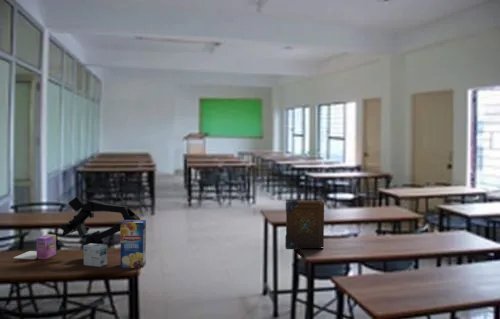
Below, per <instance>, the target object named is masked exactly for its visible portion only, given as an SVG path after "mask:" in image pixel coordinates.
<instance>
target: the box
mask: <svg viewBox="0 0 500 319" xmlns="http://www.w3.org/2000/svg"><path fill="white" fill-rule="evenodd" d="M36 251H37V258H38V259H37V258H36V259H37V260H39V259H40V260H46V259H48V258H52V257H54V256H55V255H57V235H56V234H52V233H51V234H50V233H47V234H44V235H42V236H38V237H37V238H36Z"/></svg>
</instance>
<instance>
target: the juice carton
mask: <svg viewBox="0 0 500 319" xmlns="http://www.w3.org/2000/svg"><path fill="white" fill-rule="evenodd" d="M119 224H120V231H119V233H120V239H119V240H120V241H119V243H120V268H122V269H125V268H126V269H129V268H130V269H133V268H134V269H142V268H144V267H145V266H147V265H146V264H147V232H146V231H147V226H146V225H147V220H146V219H140V220H124V219H123V220H122V221H121V222H120V223H119Z"/></svg>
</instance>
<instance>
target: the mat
mask: <svg viewBox="0 0 500 319" xmlns="http://www.w3.org/2000/svg"><path fill="white" fill-rule="evenodd" d="M12 259H17V260H36V259H37V250H29V251H26V252H24V253H21V254H19V255H16V256H14V257H13V258H12Z"/></svg>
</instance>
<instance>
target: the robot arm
mask: <svg viewBox="0 0 500 319" xmlns="http://www.w3.org/2000/svg"><path fill="white" fill-rule="evenodd" d="M68 205H69V207H70V208H71V209H72V210H73V211H74V212H78V213H77V214H75V215H74V216H73V217H72V219H70V220H69V221H68V222H64V223H61V224H60V226H59V228H60V229H61V230H62V234H61V236H62V237H63V238H64V237H66V236H67V235H69V234H72V233H74V232H77V234H78V237H82V236H84V235H87V234H88V233H89V231H90V229H91V228H90V227H89V226H86V225H85V224H86V220H88V218H90V219H92V218H94V217H95V213H94V212H100V211H101V212H102V211H103V212H109V213H110V212H111V213H118V214H121V215H122V218H123V220H141V218H140V216H138V215H136V213H135V212H133V210H131V208H129V207H128V205H119V204H111V203H104V202H102V201H100V200H96V199H94V200H89V201H88V202H86V201H85V202H84V201H83V200H82V199H81V198H80V197H79V196H76V197H74V198H73V199H72V200H70V201H69V202H68ZM116 233H120V223H119V224H118V225H115V226H113V227H110V228H108V229H107V230H104V231H102V232H101V231H100V230H96V231H94V232H93V233H90V234H88V235H87V237H86V239H85V243H86V244H85V245H87V244H90V243H92V244H103V245H105V242H104V240H105V238H109V237H110V236H112V235H115V234H116Z"/></svg>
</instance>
